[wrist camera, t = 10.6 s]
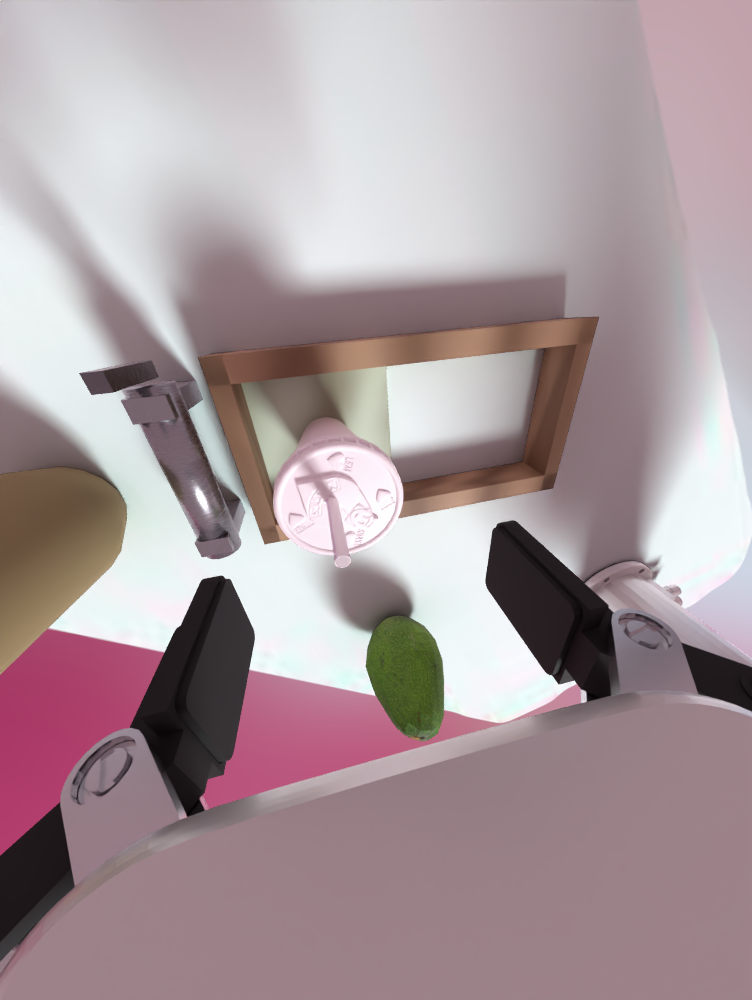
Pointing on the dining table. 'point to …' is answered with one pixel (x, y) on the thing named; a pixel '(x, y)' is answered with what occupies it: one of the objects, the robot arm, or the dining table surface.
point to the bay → (364, 405)
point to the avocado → (407, 676)
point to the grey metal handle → (176, 450)
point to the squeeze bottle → (52, 547)
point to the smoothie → (336, 492)
